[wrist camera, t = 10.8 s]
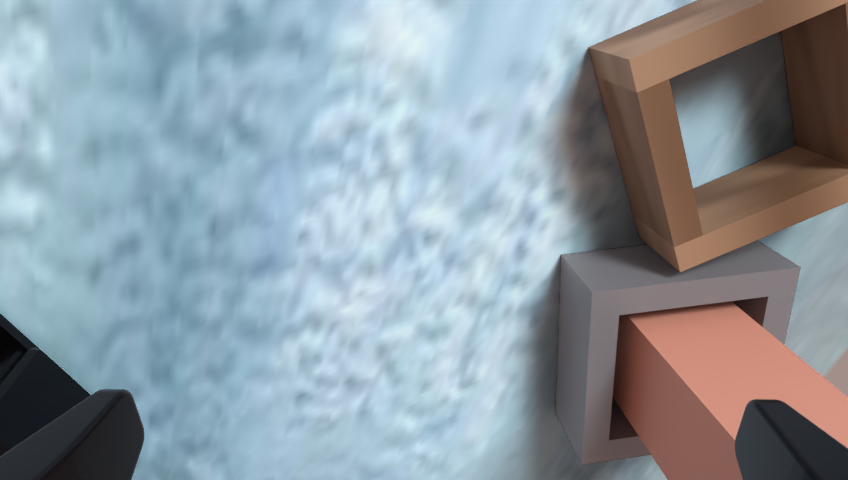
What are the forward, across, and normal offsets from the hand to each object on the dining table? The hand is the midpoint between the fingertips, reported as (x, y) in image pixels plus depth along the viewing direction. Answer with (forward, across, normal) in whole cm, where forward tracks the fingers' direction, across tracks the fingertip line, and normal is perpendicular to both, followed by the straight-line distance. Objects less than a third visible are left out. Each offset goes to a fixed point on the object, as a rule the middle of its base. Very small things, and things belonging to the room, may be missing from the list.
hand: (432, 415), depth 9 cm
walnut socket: (+15, -9, 0) cm, 18 cm away
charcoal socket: (+14, -8, +9) cm, 18 cm away
